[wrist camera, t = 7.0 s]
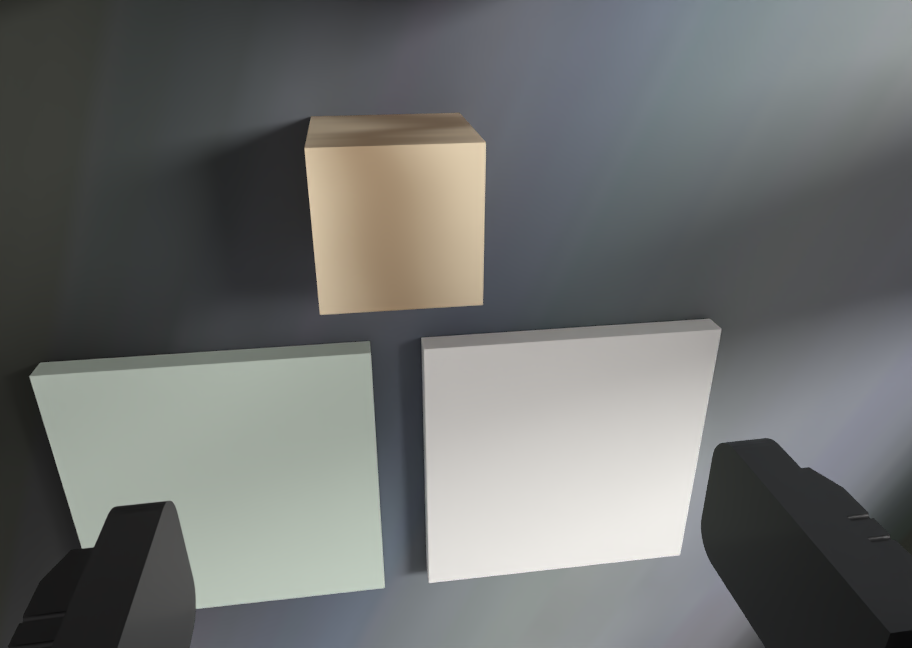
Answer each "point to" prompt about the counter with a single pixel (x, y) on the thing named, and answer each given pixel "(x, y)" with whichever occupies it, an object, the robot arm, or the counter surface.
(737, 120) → the counter surface
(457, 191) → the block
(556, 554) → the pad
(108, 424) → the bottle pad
